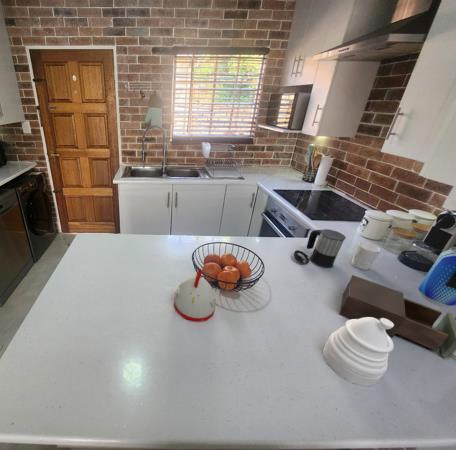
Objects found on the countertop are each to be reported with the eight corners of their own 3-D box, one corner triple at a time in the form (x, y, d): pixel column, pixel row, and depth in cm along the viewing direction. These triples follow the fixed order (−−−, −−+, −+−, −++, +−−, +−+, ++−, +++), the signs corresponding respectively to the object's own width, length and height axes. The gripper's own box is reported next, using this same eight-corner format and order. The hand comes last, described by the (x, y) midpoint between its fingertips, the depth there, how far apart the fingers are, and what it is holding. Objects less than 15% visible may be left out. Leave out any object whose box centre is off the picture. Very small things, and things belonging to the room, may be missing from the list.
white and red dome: (169, 314, 82) (172, 278, 75) (180, 288, 94) (183, 255, 87) (211, 327, 78) (218, 290, 71) (217, 298, 90) (223, 264, 83)
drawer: (466, 339, 76) (480, 323, 73) (478, 371, 67) (494, 355, 64) (388, 309, 87) (397, 294, 84) (389, 332, 77) (399, 317, 74)
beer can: (416, 298, 73) (446, 253, 66) (415, 285, 79) (444, 242, 71) (457, 314, 68) (495, 267, 61) (453, 298, 74) (488, 253, 66)
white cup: (349, 258, 117) (357, 240, 112) (370, 264, 113) (379, 246, 108) (349, 266, 111) (358, 247, 106) (371, 273, 107) (381, 253, 102)
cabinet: (391, 311, 87) (403, 292, 83) (392, 338, 77) (406, 318, 73) (343, 292, 95) (352, 274, 91) (338, 314, 85) (348, 295, 81)
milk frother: (337, 264, 112) (349, 235, 105) (320, 276, 104) (333, 245, 97) (305, 249, 122) (315, 223, 116) (288, 259, 114) (297, 231, 107)
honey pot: (390, 379, 65) (427, 331, 57) (354, 392, 62) (388, 344, 53) (345, 338, 76) (370, 293, 68) (312, 348, 73) (334, 302, 64)
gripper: (469, 191, 69) (426, 258, 79) (492, 213, 54) (436, 292, 65) (511, 198, 65) (460, 268, 75) (549, 224, 50) (479, 306, 61)
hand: (449, 279), depth 70 cm, fingers closed on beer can, 8 cm apart
